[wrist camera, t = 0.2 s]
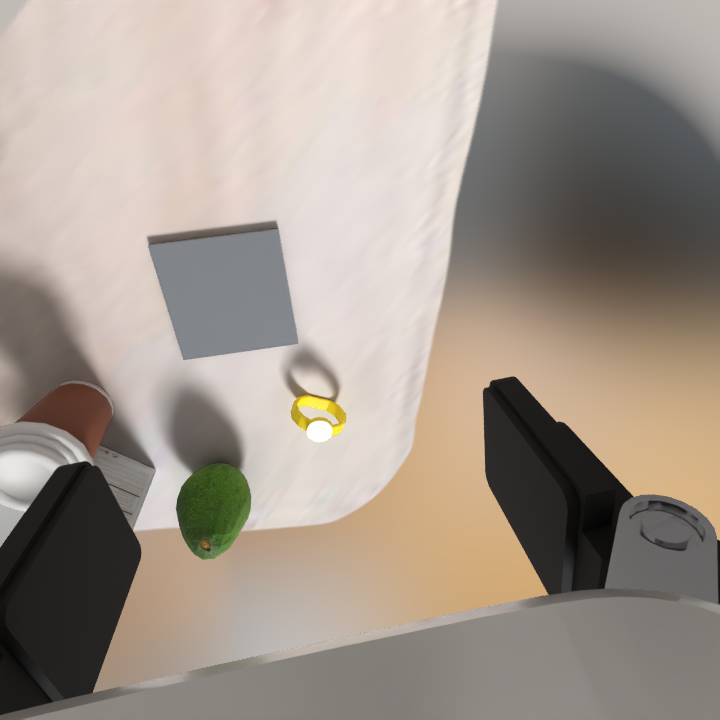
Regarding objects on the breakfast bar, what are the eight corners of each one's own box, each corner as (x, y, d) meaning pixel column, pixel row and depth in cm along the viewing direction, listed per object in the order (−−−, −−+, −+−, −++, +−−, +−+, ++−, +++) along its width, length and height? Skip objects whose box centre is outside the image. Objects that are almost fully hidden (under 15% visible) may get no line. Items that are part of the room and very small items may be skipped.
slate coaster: (149, 244, 43) (147, 245, 42) (278, 228, 44) (277, 229, 43) (184, 357, 49) (183, 360, 48) (298, 341, 49) (298, 343, 49)
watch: (290, 404, 53) (286, 434, 48) (297, 385, 52) (294, 413, 47) (339, 418, 54) (340, 448, 49) (347, 399, 53) (349, 428, 48)
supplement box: (129, 508, 57) (89, 603, 46) (68, 484, 54) (10, 578, 43) (159, 468, 55) (124, 557, 43) (97, 441, 52) (43, 528, 41)
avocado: (264, 459, 56) (257, 537, 45) (240, 504, 59) (228, 588, 48) (199, 438, 53) (176, 516, 43) (177, 487, 56) (150, 571, 46)
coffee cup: (144, 421, 51) (106, 497, 41) (73, 451, 52) (17, 535, 41) (91, 355, 47) (33, 422, 37) (15, 389, 48) (-65, 465, 37)
